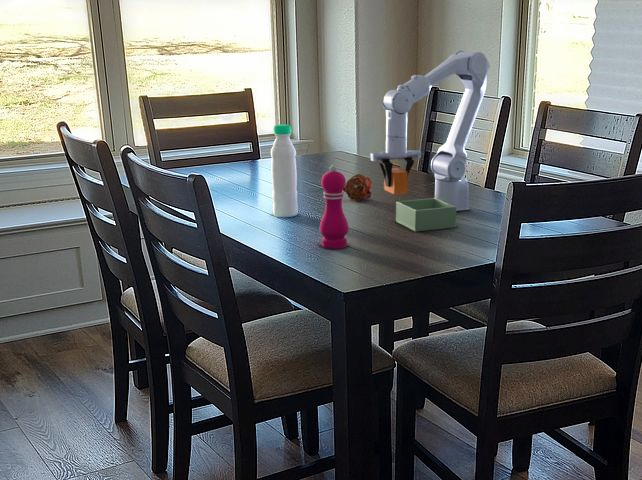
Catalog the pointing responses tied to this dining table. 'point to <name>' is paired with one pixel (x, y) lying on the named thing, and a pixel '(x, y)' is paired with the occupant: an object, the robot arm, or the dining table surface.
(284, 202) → the water bottle
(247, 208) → the dining table surface
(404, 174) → the orange rectangular block
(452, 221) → the open green box
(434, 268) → the dining table surface
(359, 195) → the brown rough oval
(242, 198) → the dining table surface
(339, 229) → the pepper mill
